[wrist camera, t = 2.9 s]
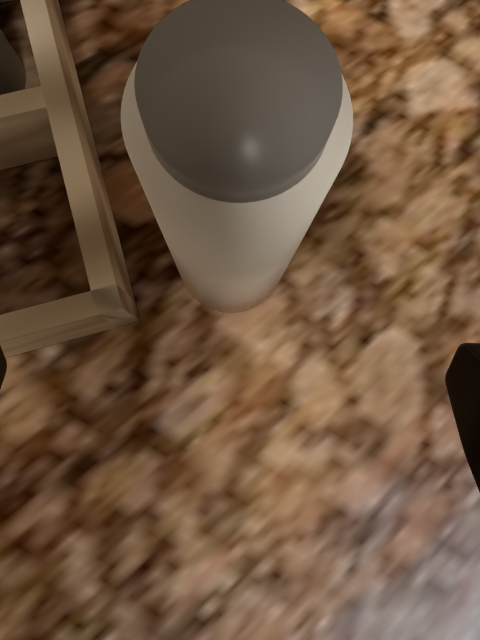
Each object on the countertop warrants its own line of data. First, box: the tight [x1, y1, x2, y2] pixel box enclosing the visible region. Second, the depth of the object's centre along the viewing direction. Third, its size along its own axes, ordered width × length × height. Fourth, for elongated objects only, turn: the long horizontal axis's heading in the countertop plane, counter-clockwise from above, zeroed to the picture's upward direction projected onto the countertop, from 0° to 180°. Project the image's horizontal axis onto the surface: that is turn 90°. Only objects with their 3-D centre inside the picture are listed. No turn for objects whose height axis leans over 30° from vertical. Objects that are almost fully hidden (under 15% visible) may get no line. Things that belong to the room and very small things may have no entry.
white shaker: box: [121, 0, 353, 313], centre depth 14 cm, size 5×5×12 cm
